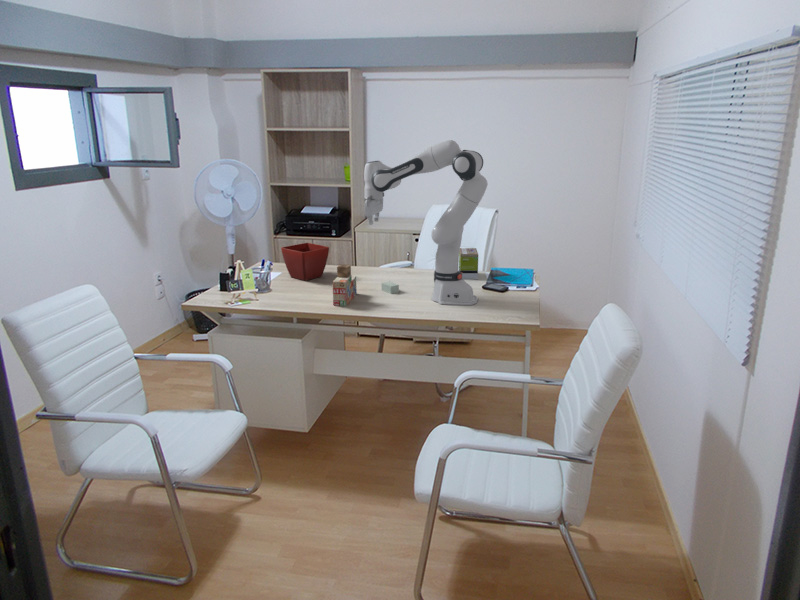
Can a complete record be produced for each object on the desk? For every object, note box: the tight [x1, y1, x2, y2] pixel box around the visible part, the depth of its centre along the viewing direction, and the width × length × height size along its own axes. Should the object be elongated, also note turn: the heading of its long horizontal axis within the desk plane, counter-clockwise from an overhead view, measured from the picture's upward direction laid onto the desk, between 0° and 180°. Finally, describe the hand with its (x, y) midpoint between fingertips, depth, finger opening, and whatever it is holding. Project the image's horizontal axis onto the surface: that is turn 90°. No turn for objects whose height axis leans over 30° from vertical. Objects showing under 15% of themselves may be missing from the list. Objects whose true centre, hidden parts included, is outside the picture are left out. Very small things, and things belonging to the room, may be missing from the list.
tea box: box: [458, 247, 479, 280], centre depth 328 cm, size 15×10×15 cm, turn 178°
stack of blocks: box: [332, 274, 357, 307], centre depth 285 cm, size 21×6×12 cm, turn 170°
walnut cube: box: [336, 264, 352, 278], centre depth 282 cm, size 5×5×5 cm
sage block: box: [381, 281, 400, 295], centre depth 301 cm, size 5×8×4 cm, turn 37°
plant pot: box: [280, 242, 330, 281], centre depth 324 cm, size 19×19×17 cm
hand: (373, 222), depth 292 cm, fingers open, 8 cm apart
